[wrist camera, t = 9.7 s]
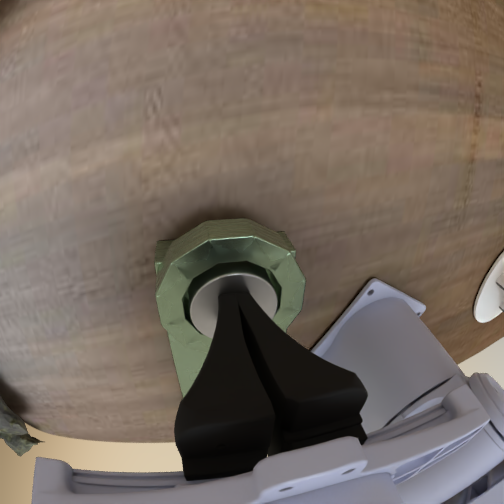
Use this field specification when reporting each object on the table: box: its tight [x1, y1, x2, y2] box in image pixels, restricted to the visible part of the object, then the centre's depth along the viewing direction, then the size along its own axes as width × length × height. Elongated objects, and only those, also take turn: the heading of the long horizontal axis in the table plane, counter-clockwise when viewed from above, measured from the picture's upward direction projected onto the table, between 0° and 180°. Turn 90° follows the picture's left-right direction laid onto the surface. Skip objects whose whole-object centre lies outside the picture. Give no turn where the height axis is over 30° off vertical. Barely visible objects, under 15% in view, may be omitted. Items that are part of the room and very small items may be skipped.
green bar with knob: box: [154, 218, 306, 398], centre depth 20 cm, size 21×7×4 cm, turn 179°
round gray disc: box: [188, 261, 278, 339], centre depth 15 cm, size 4×4×2 cm
